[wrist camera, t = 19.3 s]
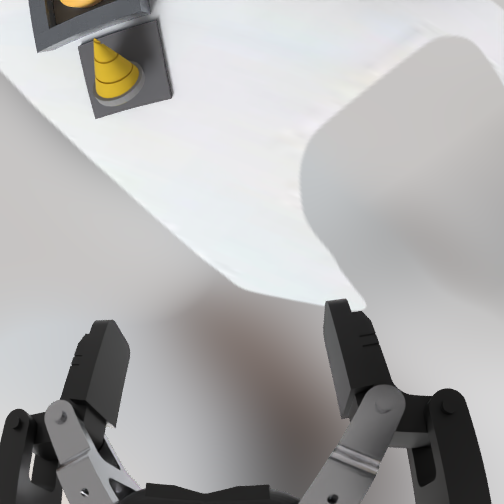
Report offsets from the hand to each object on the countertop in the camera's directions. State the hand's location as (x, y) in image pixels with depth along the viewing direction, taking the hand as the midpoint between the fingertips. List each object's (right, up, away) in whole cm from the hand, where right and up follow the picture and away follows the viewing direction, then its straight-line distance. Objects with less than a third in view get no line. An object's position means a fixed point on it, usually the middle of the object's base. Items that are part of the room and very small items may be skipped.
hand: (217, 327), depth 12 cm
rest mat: (-12, +22, +16) cm, 30 cm away
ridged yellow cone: (-12, +22, +16) cm, 30 cm away
